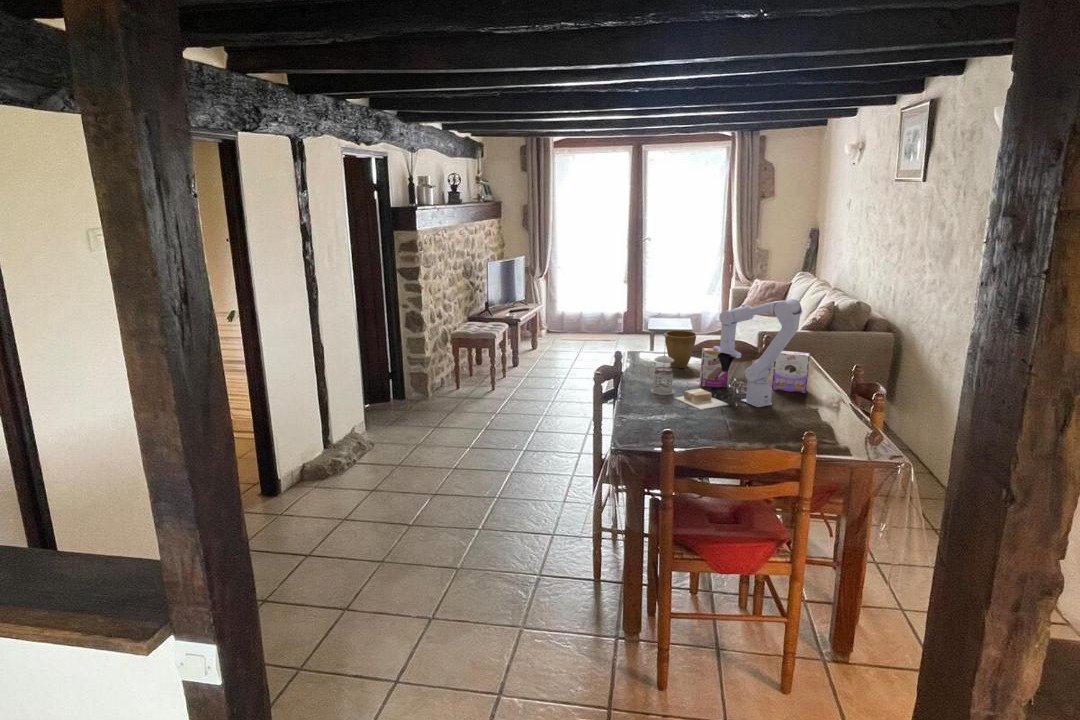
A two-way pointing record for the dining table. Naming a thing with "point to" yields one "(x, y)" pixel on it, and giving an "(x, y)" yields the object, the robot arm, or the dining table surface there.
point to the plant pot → (680, 347)
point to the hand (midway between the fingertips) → (725, 371)
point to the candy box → (791, 371)
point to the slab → (697, 395)
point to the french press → (662, 375)
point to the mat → (703, 403)
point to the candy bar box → (712, 370)
